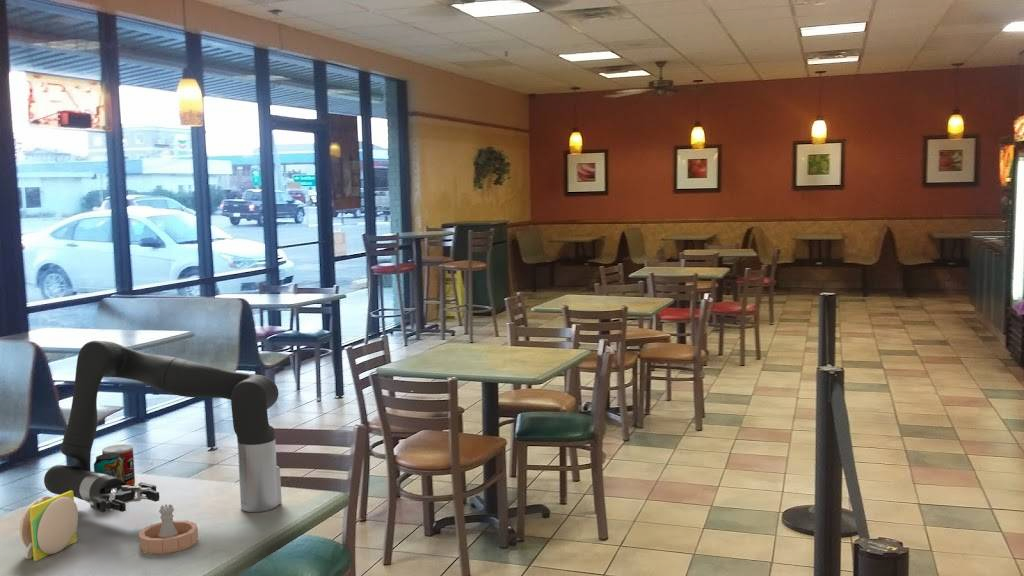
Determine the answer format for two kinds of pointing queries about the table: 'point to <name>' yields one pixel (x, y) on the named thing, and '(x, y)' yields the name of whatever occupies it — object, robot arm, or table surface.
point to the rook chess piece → (167, 522)
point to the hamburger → (49, 525)
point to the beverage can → (109, 465)
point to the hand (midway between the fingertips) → (141, 502)
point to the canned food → (124, 461)
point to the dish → (171, 544)
